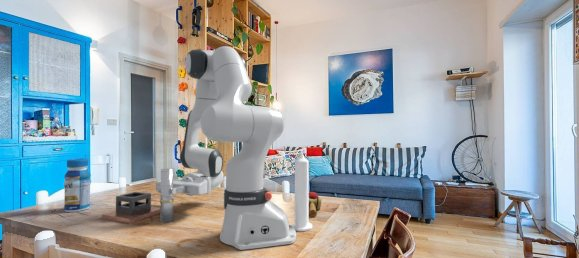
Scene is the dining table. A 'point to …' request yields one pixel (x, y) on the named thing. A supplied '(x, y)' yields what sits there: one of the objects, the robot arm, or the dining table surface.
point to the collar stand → (132, 208)
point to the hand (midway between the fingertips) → (165, 190)
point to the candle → (301, 194)
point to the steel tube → (166, 195)
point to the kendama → (314, 203)
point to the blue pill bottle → (77, 185)
